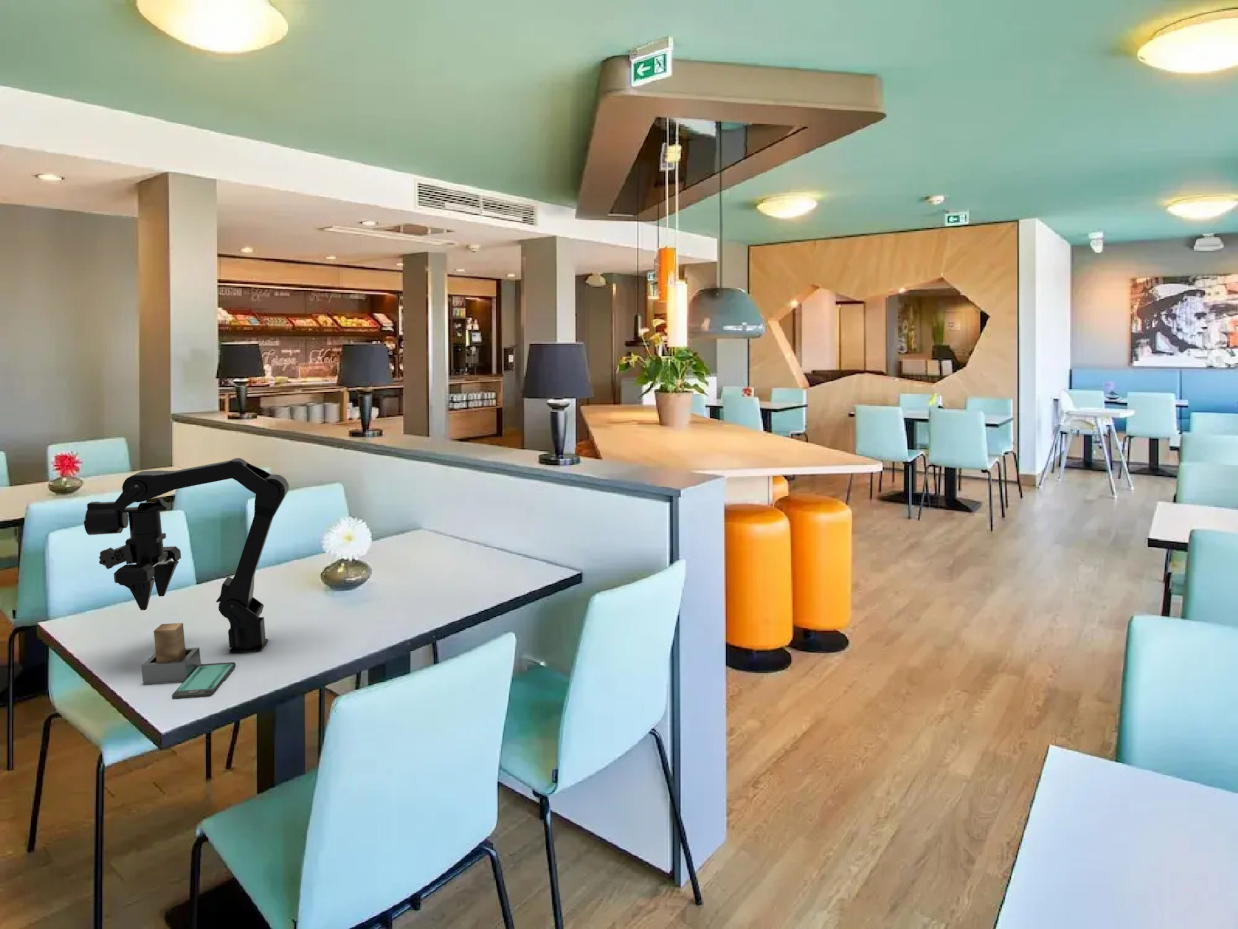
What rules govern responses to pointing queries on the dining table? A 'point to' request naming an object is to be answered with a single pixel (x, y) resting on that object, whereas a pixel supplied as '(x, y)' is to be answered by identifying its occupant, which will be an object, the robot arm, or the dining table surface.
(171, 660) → the rail post
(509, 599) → the dining table surface
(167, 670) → the gray open box
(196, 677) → the smartphone
